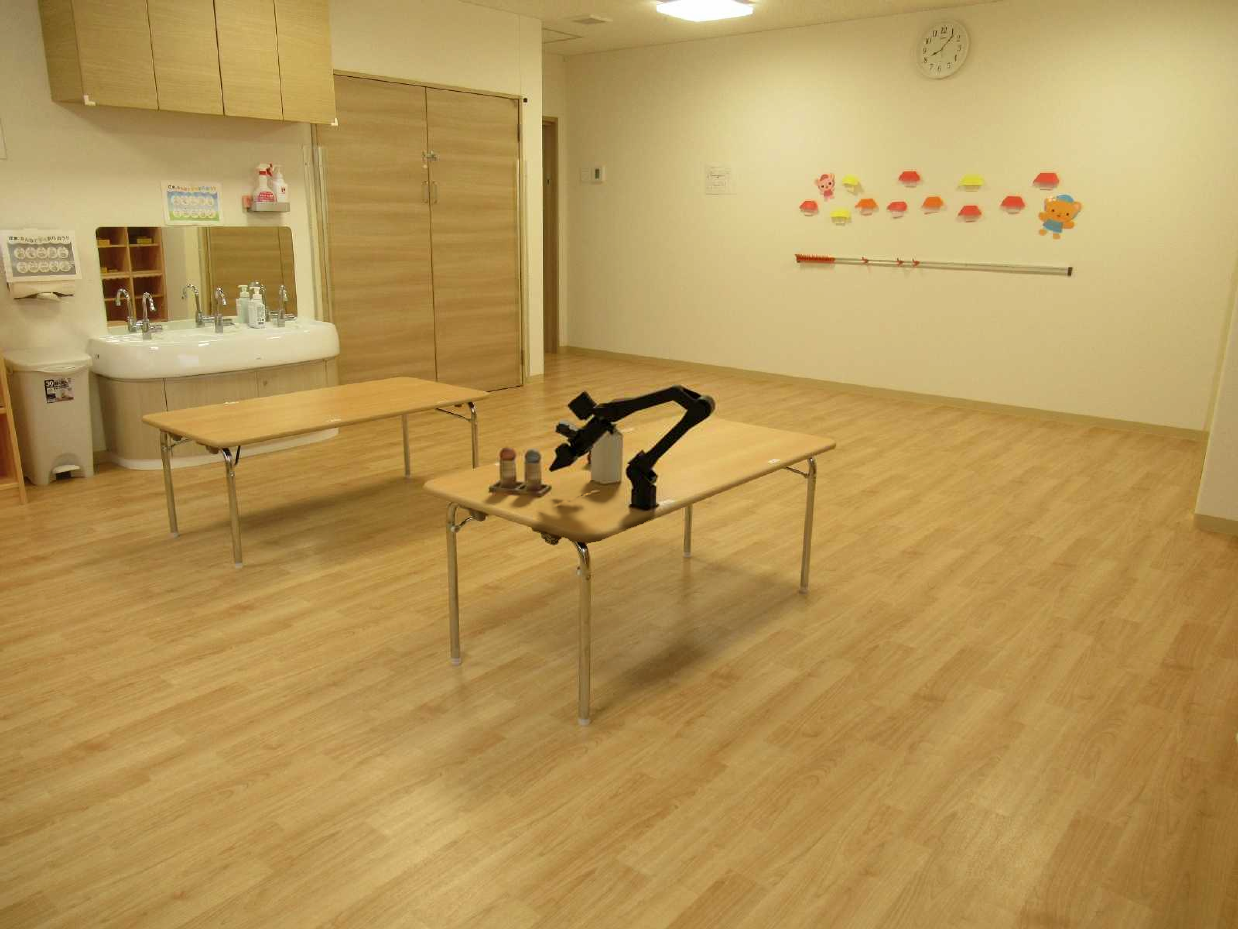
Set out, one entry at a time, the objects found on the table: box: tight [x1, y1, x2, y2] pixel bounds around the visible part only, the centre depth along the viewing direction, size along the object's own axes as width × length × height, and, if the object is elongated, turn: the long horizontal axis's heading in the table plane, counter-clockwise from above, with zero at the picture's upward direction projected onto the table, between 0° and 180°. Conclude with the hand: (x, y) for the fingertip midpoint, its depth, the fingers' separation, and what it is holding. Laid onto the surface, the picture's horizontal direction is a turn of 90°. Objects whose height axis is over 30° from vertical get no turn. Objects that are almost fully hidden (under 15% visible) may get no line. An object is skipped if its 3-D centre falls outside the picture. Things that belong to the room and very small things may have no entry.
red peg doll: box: [498, 446, 518, 489], centre depth 267 cm, size 5×5×13 cm
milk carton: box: [590, 422, 624, 485], centre depth 279 cm, size 7×7×19 cm
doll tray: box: [488, 479, 553, 498], centre depth 267 cm, size 16×9×2 cm, turn 74°
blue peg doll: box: [523, 448, 542, 492], centre depth 265 cm, size 5×5×13 cm
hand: (555, 466), depth 262 cm, fingers open, 9 cm apart
